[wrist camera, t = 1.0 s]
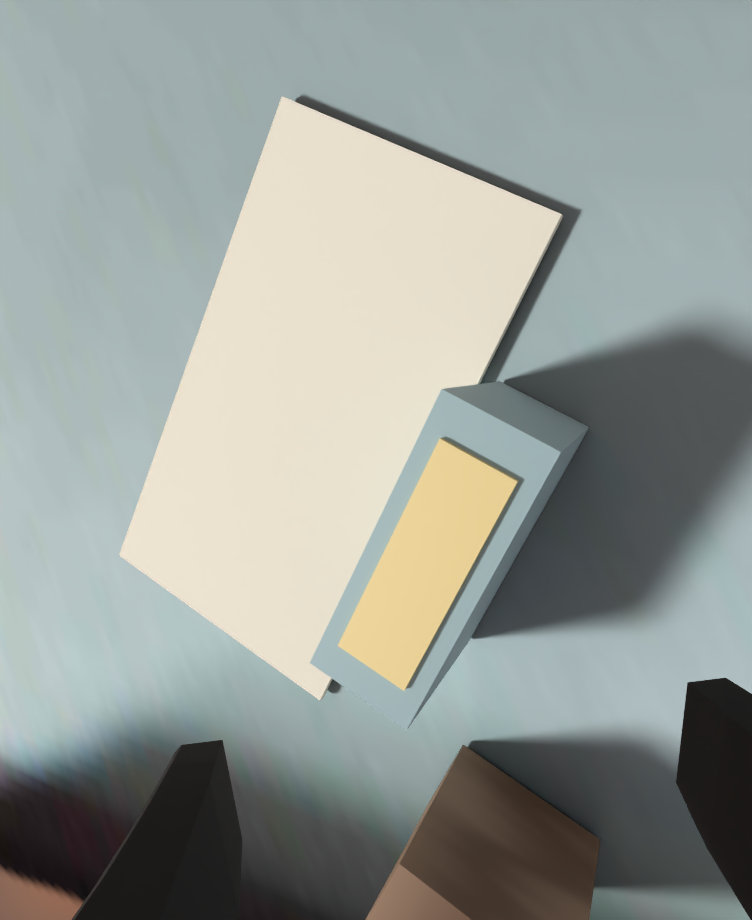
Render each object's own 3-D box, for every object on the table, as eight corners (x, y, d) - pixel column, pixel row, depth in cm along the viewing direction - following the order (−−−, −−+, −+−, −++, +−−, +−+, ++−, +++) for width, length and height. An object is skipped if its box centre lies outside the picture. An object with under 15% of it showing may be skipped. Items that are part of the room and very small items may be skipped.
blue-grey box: (589, 427, 20) (560, 452, 15) (468, 640, 23) (403, 733, 17) (499, 381, 21) (439, 389, 15) (392, 592, 23) (307, 665, 18)
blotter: (563, 216, 20) (561, 214, 19) (323, 697, 25) (320, 700, 25) (286, 99, 22) (282, 96, 22) (124, 553, 28) (119, 555, 28)
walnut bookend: (600, 839, 22) (577, 1001, 16) (563, 891, 22) (529, 1063, 17) (463, 744, 23) (399, 863, 18) (432, 796, 24) (362, 926, 18)
